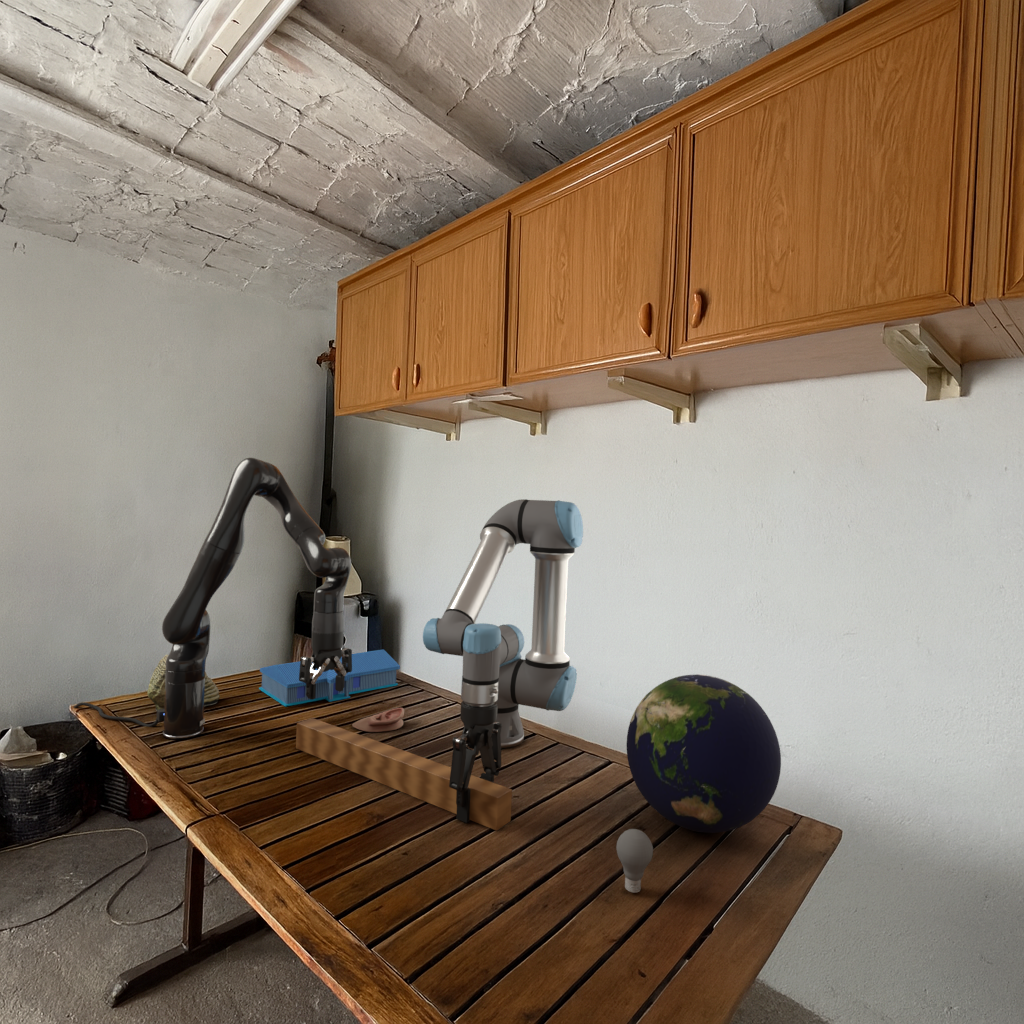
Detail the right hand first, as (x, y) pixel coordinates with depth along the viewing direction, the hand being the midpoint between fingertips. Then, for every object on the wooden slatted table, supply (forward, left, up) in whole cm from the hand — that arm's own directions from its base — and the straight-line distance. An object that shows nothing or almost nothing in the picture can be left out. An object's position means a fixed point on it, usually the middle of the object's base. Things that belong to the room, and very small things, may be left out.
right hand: (474, 812), depth 129 cm
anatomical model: (-44, -33, 0) cm, 56 cm away
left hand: (-24, -41, +14) cm, 49 cm away
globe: (-3, +45, 0) cm, 46 cm away
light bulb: (+21, +30, 0) cm, 37 cm away
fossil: (-49, -93, 0) cm, 104 cm away
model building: (-74, -57, 0) cm, 94 cm away
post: (-12, -20, 0) cm, 24 cm away
